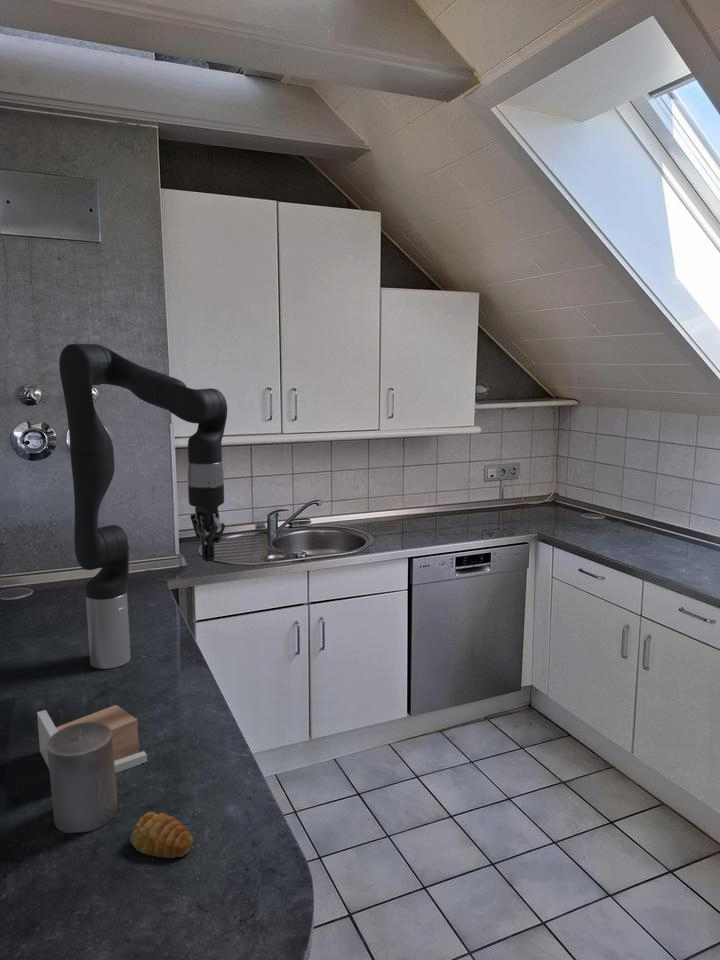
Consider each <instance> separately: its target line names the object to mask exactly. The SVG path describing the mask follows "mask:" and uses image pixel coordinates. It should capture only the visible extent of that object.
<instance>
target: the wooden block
mask: <svg viewBox="0 0 720 960" xmlns="http://www.w3.org/2000/svg"><path fill="white" fill-rule="evenodd" d="M85 722H95V723H96V722H97V723H101V724H104V725H107V726H108V727H109V728H110V729H111V732H112V742H113V752H114V761H116V760H119V759H122V758H125V757H128V756H131V755H134V754H137V753H140V747H139V745H140V744H139V726H138V719H137V718H135V717H134V715H131V714H130V713H128V712H127V711H126V710H125V709H123V708H122V707H120V706H119V705H117V704H115V705H111V706H109V707H106V708H104V709H102V710H98V711H96V712H93V713H90V714H88V715H86V716H83V717H80V718H78V719H75V720H71V721H69V722H67V723H64V724H61V725H59V726H57V727H56V726H55V727H56V728H57V730H58V731H60V730H61V729H63V728H65V727H68V726H71V725H74V724H79V723H85Z"/></svg>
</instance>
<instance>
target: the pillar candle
mask: <svg viewBox="0 0 720 960" xmlns="http://www.w3.org/2000/svg"><path fill="white" fill-rule="evenodd" d="M47 749H48V761H49V768H48V770H49V779H50V780H49V781H50V791H51V792H50V793H51V802H52V811H53V812H52V813H53V821H54V826H55V828H57V829H58V830H59V831H60V832H63V833H65V834H73V833H74V834H75V833H76V834H77V833H88V832H92V831H95V830H98V829H100V828H101V827H103V826H105V825H106V824H108V823H109V822H110V821H111V820H112V819H113V818H114V817H115V815H116V813H117V812H118V808H119V806H118V805H119V802H118V789H117V779H116V777H117V776H116V775H117V774H116V773H115V765H114V752H113V742H112V732H111V729H110V728H109V727H108V726H107V725H104V724H101V723H97V722H96V723H95V722H85V723H79V724H74V725H71V726H68V727H65V728H63V729H61V730H60V731H58V732H56V733H55V734H54V735H53V736H52V737H51V738H50V739H49V741H48V743H47Z"/></svg>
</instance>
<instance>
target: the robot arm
mask: <svg viewBox="0 0 720 960" xmlns="http://www.w3.org/2000/svg"><path fill="white" fill-rule="evenodd" d="M58 362H59V363H58V364H59V374H60V375H59V376H60V380H61V386H62V392H63V397H64V403H65V409H66V417H67V425H68V426H67V427H68V435H69V450H70V451H69V452H70V453H69V454H70V465H71V466H70V467H71V474H72V485H73V496H74V497H73V499H74V530H73V534H74V538H73V539H74V540H73V541H74V544H73V545H74V552H75V557H76V560H77V562H78V565H79V566H80V567H81V568H82V569H83V570H85V571H93V570H98V569H100V570H99V572H97V574H95V576H93V577H92V578H90V579H89V580H87V582H86V584H85V590H84V591H85V604H86V605H85V606H86V617H87V632H88V633H87V634H88V647H89V648H88V650H89V652H88V653H89V663H90V666H91V667H92V668H95V669H98V670H99V669H100V670H108V669H109V670H110V669H114V668H119V667H122V666H124V665H126V664H128V663H129V662H130V661H131V659H132V658H131V645H130V644H131V642H130V641H131V640H130V625H129V623H130V622H129V603H128V583H129V581H130V580H129V579H130V578H129V576H130V567H129V566H130V547H129V541H128V536H127V534H126V532H125V530H124V529H123V528H122V527H121V526H119V525H117V524H111V525H110V524H109V525H105V526H101V527H99V525H98V522H99V521H98V520H99V510H100V509H101V504H102V502H103V499H104V498H105V495H106V493H107V491H108V489H109V488H110V485H111V483H112V480H113V478H114V475H115V455H114V452H115V451H114V444H113V440H112V438H111V436H110V433H109V432H108V431H107V428H106V426H104V424H103V422H102V421H101V419H100V417H99V415H98V413H97V410H96V409H95V404H94V395H93V386H101V385H108V386H110V385H111V386H116V387H120V388H124V389H126V390H129V391H130V392H131V393H132V394H133V395H135V397H137V398H138V399H140V400H141V401H143V402H145V403H147V404H150V405H153V406H155V407H158V408H160V409H163V410H166V411H169V413H170V414H173V415H174V416H176V417H177V418H179V419H180V420H182V421H184V422H186V423H190V424H191V423H192V424H198V425H197V428H196V432H195V433H193V434H192V435H191V436H189V438H188V442H187V456H188V458H187V460H188V464H187V465H188V466H187V491H188V492H187V495H188V504H189V505H190V506H192V507H194V512H195V513H192V514H190V521H191V524H192V527H193V530H194V532H195V533H194V534H195V537H196V539H197V540H199V542H200V544H201V558H202V560H203V561H204V562H206V563H207V562H212V561H214V560H215V544H219V543H220V541H221V538H222V536H223V533H224V531H225V528H226V526H225V523H224V522H220V512H219V507H220V506H222V505H223V504H224V502H225V483H224V482H225V481H224V480H225V479H224V476H225V475H224V466H223V448H222V441H223V437H224V433H225V430H226V429H225V427H226V423H227V419H228V418H227V417H228V403H227V400H226V398H225V395H224V394H223V393H222V392H221V391H220V390H219V389H217V388H212V387H211V388H201V389H200V388H199V389H197V388H196V389H195V388H191V387H187V385H186V384H185V382H183V381H182V380H180V379H178V378H176V377H172V376H170V375H167V374H164V373H161V372H158V371H156V370H154V369H153V370H152V369H150V368H147V367H144V366H141V365H139V364H137V363H136V362H135V363H134V362H132V361H131V360H129V359H127V358H125V357H123V356H121V355H120V354H118V353H117V352H115V351H113V350H112V349H110V348H108V347H106V346H105V345H104V346H103V345H101V344H96V343H94V344H93V343H70V344H67V345H66V346H64V348H63V349H62V351H61V353H60V356H59V361H58Z"/></svg>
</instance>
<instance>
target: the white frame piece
mask: <svg viewBox="0 0 720 960" xmlns="http://www.w3.org/2000/svg"><path fill="white" fill-rule="evenodd" d="M36 716H37V717H36V718H37V729H38V740H39V742H38V743H39V752H40V754H41V756H42V758H43V760H44V763H45V764H46V766H47V768H48V769H49V761H48V749H47V743H48V741H49V739H50V738H51V737H52V736H53V735H54V734H55V733H56V732H58V730H57V728H56V726H55V723H54V722H53V720H52V718H51V717H50V715H49V713H48V711H47V710H46V709H44V710H40V711H36ZM145 762H147V763H148V755H147V752H146V751H145V750H142V751H139V753H137V754H134V755H131V756H128V757H125V758H122V759H119V760H116V761H114V765H115V774H117V773H121V772H123V771H126V770H129V769H132V768H134V767H137V765H138V766H140V764H141V765H143V764H142V763H144V764H146V763H145Z"/></svg>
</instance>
